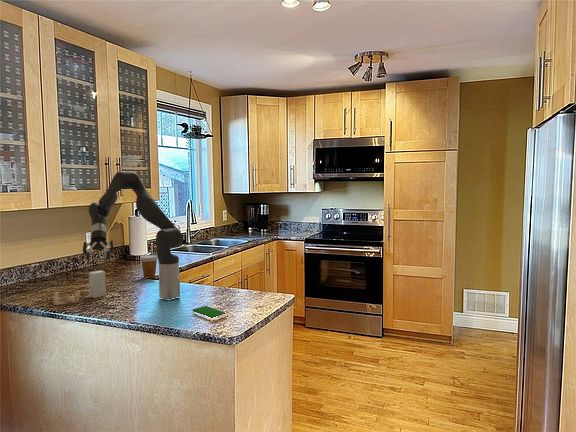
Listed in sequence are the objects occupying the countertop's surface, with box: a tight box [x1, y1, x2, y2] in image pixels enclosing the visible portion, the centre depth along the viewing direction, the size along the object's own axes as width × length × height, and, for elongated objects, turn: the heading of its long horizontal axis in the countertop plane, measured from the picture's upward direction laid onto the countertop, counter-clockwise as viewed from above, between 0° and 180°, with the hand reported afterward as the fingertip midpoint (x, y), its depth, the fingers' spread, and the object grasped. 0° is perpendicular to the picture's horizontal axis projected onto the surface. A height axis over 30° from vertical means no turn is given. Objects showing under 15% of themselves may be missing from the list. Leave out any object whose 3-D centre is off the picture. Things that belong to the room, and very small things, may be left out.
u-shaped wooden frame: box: [51, 289, 81, 306], centre depth 191 cm, size 10×11×3 cm
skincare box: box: [88, 270, 107, 299], centre depth 197 cm, size 6×4×12 cm
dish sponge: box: [192, 305, 226, 318], centre depth 172 cm, size 7×14×2 cm, turn 47°
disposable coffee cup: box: [139, 254, 158, 279], centre depth 236 cm, size 10×10×12 cm
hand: (98, 259), depth 207 cm, fingers open, 8 cm apart
